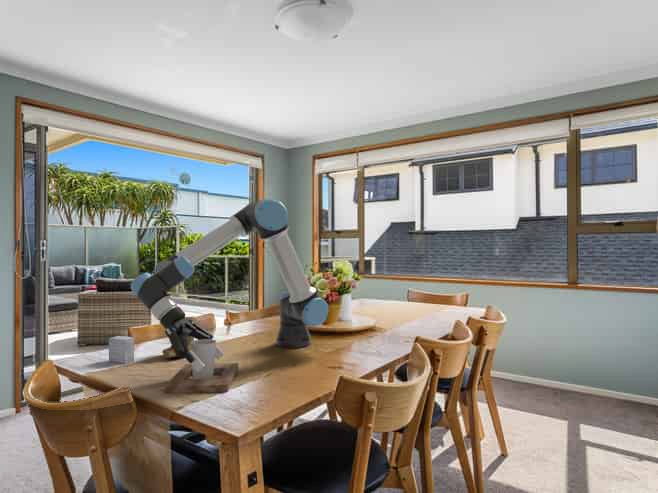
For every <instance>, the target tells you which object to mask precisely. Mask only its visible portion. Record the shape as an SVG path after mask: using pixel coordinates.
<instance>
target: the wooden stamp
mask: <svg viewBox="0 0 658 493" xmlns="http://www.w3.org/2000/svg"><path fill="white" fill-rule="evenodd" d="M184 319H185V320H186V321H189V320H190V319H193V320H194V321H195V322H196V323H197V318H196V317H195V316H185V318H184ZM186 340H187V345H188V349H189V351H190V350H191V345H190V342H192V341H195V338H194V337H192V336H186ZM178 351H179V349H178ZM189 351H188V352H189ZM161 353H162V354H163V356H164V358H166V359H172V358H177V357H179V356H177V355H176V354H175V352H174V349H173V347H172V345H170V346H169V347H167V348H164V349H163V350H162V352H161Z"/></svg>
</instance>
